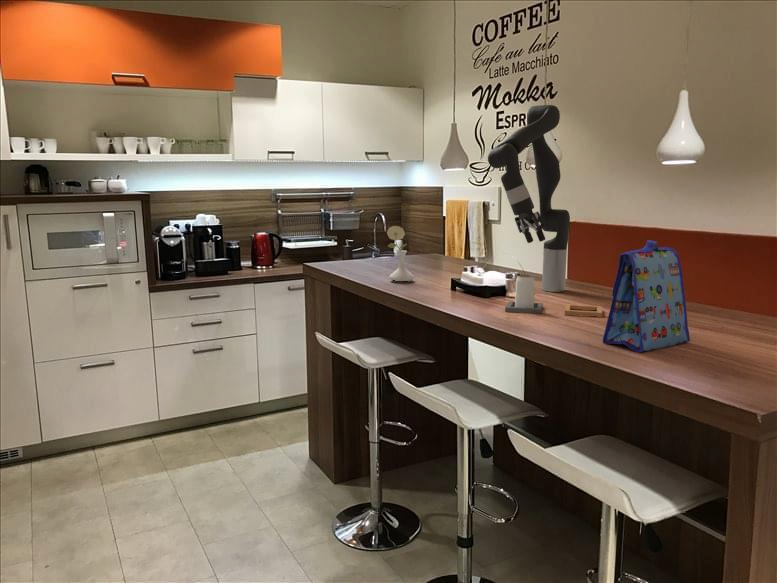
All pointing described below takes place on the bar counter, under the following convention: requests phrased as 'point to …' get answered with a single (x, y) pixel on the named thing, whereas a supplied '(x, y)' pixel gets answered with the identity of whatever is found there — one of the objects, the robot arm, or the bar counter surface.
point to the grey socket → (510, 308)
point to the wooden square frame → (583, 313)
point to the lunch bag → (648, 300)
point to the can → (525, 291)
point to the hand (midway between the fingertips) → (536, 241)
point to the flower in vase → (401, 272)
